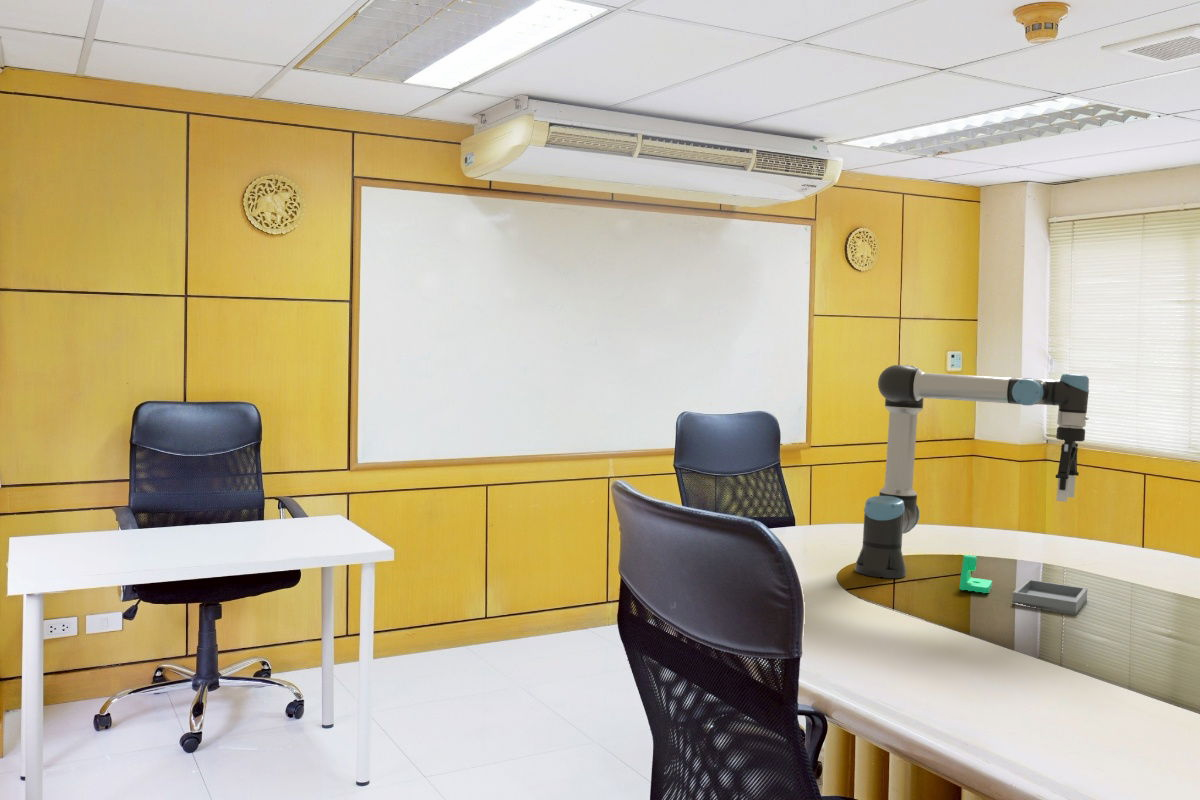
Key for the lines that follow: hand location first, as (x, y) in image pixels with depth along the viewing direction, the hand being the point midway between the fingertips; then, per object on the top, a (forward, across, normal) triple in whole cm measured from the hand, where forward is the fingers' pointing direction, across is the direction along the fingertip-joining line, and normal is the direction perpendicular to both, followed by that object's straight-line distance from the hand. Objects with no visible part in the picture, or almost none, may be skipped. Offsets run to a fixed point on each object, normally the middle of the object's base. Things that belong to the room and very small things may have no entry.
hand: (1065, 499), depth 291 cm
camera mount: (+28, -15, +20) cm, 38 cm away
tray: (+28, -15, 0) cm, 32 cm away
